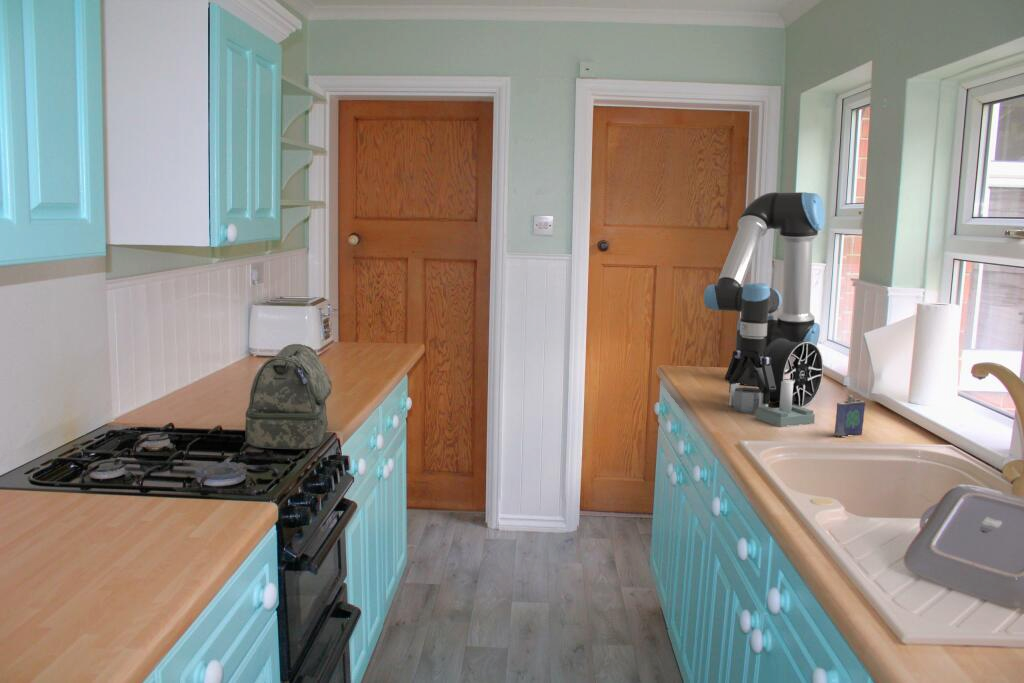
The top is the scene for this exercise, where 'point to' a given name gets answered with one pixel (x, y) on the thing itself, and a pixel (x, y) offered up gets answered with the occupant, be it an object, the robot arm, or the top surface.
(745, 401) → the block
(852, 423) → the flask
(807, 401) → the wheel rim
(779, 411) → the shaft block
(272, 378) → the lunch bag
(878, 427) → the top surface
